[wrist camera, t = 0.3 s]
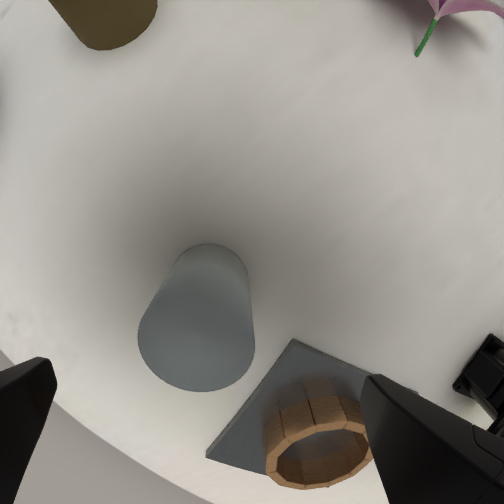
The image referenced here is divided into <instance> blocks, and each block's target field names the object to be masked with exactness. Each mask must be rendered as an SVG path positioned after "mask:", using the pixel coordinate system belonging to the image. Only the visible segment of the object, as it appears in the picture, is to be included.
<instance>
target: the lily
mask: <svg viewBox="0 0 504 504" xmlns="http://www.w3.org/2000/svg"><path fill="white" fill-rule="evenodd" d="M428 1H429V3H430V5H431V6H432V8H433V10H434V12H435V16H434V18H433V21H432V23H431V25H430V27H429V29H428V31H427V33H426V35H425V37H424V39H423V40H422V42H421V44H420V46H419V48H418V50H417V51H416V53H415V56H416V57H418V56H419V54H420V53H421V51H422V49H423V47H424V46H425V44H426V42H427V40H428V38H429V36H430V35H431V33H432V31H433V29H434V27H435V25H436V23H437V21H438V19H439V18H440V17H442V16H444V15H448V14H453V13H459V12H466V11H478V10H482V11H491V12H494V13H495V14H497V15H499V16H500V17H501V18H503V19H504V8H502V7H500V6H499V5H497V4H495V3H494V2H492V1H490V0H428Z"/></svg>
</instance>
